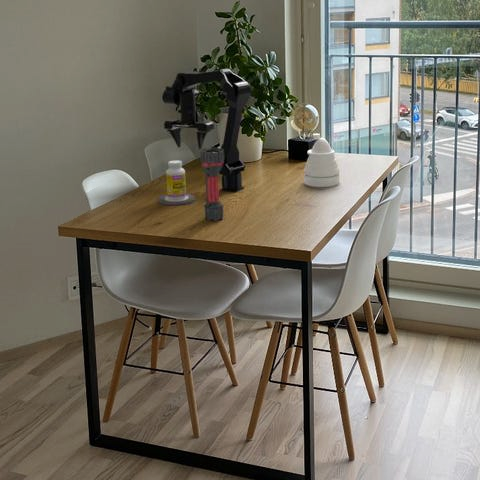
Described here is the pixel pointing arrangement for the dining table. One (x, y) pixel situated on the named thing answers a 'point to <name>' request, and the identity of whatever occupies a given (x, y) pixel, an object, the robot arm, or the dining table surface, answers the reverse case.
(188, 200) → the dock pad
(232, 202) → the dining table surface
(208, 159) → the flashlight
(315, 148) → the honey pot
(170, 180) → the supplement bottle
